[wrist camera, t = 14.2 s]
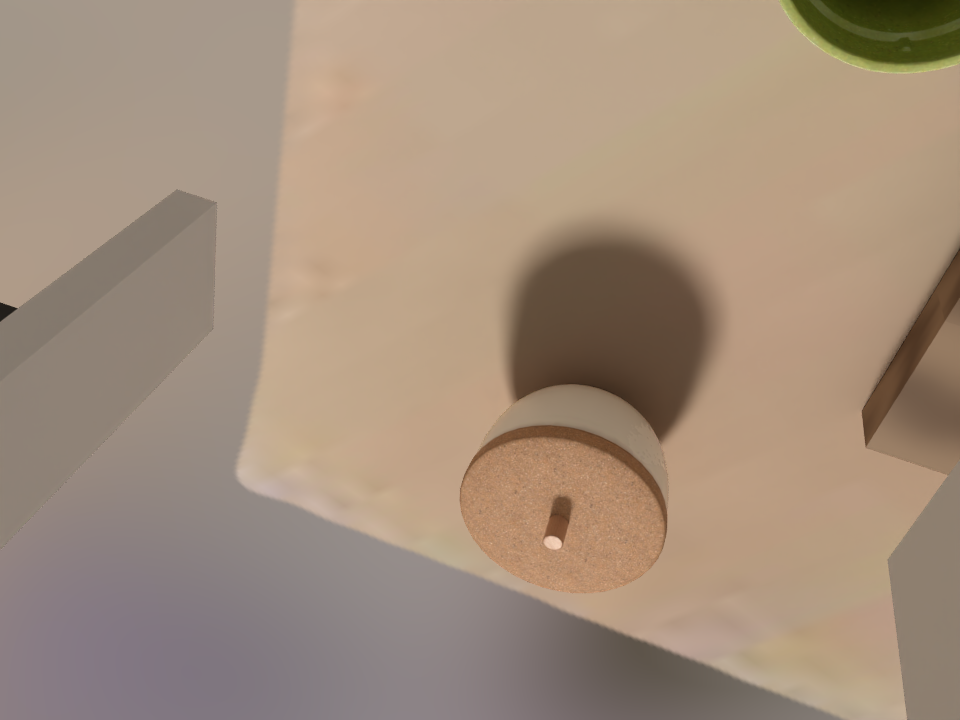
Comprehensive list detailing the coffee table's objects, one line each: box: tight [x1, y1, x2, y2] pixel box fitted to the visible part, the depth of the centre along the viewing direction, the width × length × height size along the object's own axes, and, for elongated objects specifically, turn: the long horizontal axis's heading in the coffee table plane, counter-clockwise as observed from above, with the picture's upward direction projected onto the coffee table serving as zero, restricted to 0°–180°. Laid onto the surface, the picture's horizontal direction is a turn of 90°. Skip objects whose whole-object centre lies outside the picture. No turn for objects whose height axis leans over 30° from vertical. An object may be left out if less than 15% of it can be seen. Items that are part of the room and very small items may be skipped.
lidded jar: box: [460, 384, 669, 593], centre depth 49 cm, size 11×11×9 cm
